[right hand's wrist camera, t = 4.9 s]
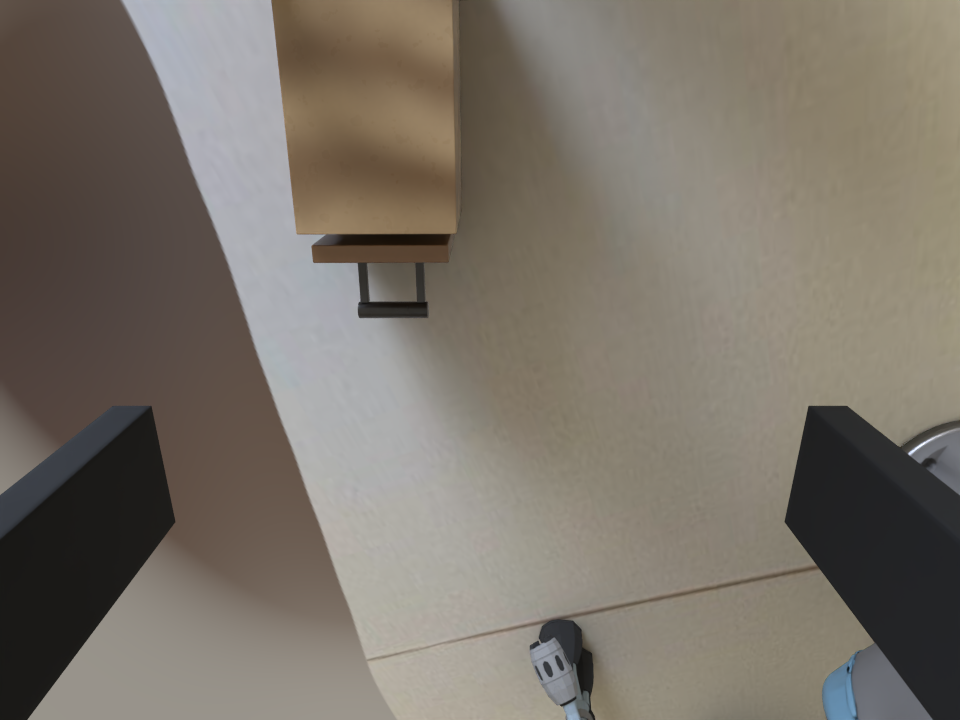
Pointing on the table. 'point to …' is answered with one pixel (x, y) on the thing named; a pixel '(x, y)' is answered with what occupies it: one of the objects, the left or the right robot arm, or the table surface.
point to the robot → (564, 668)
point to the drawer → (386, 251)
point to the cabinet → (371, 114)
